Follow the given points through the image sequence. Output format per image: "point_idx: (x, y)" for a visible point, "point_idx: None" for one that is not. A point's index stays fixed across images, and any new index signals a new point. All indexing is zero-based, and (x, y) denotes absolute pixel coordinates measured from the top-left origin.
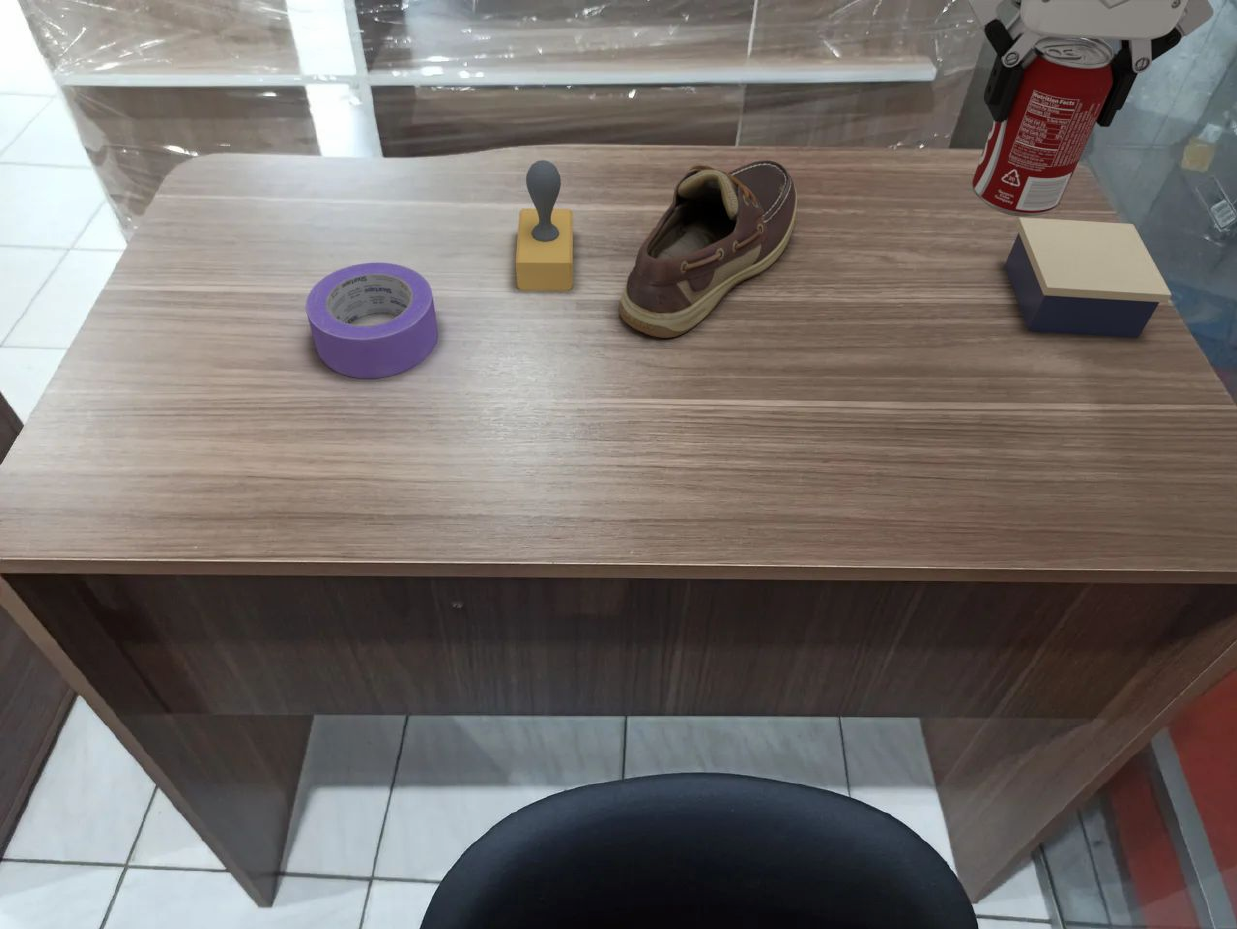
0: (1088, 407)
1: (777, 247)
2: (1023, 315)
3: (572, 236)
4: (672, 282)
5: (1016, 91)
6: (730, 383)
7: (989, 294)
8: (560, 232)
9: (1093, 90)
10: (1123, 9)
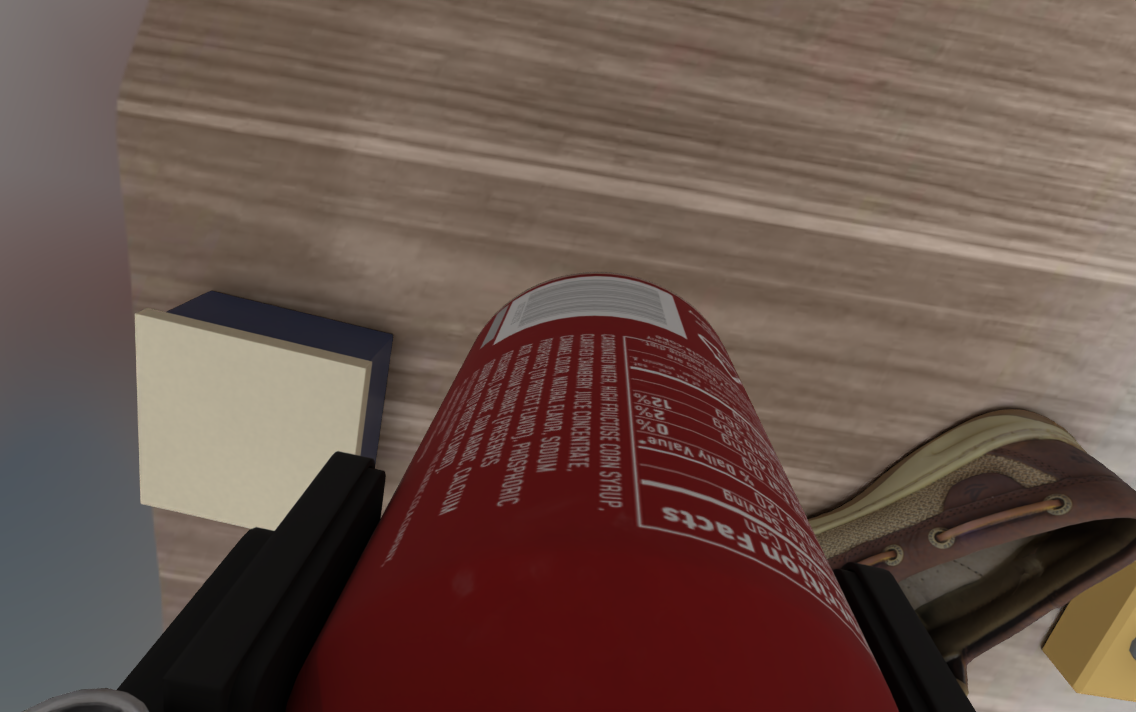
0: (360, 142)
1: None
2: (387, 370)
3: (1104, 634)
4: (1073, 479)
5: (911, 695)
6: (951, 295)
7: (422, 427)
8: (1127, 644)
9: (538, 574)
10: None
